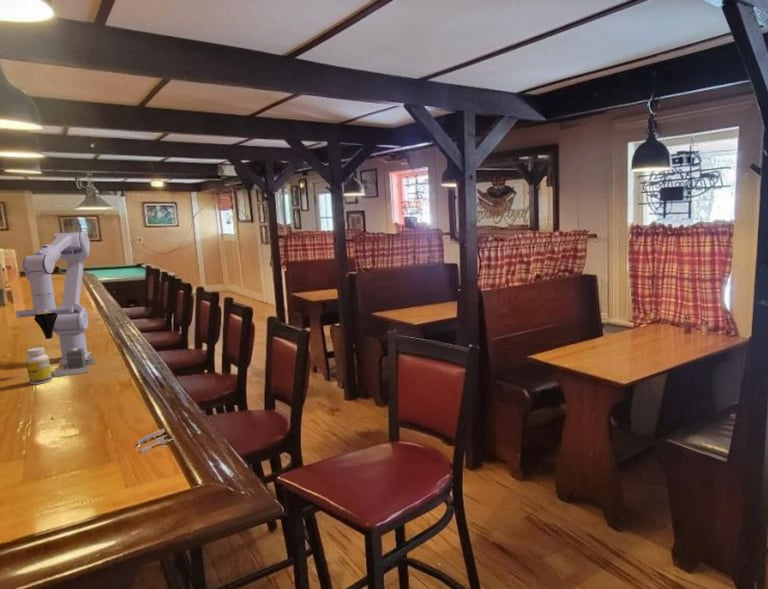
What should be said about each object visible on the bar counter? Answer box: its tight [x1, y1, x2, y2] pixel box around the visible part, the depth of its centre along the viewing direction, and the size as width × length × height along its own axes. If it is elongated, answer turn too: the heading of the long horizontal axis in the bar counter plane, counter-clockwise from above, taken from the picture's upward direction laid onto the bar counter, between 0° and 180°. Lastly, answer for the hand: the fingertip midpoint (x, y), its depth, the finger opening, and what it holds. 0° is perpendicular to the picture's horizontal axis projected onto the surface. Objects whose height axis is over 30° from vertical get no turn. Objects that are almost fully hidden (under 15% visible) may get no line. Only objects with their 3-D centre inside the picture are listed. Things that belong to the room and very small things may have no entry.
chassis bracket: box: [53, 357, 96, 378], centre depth 159 cm, size 13×9×2 cm
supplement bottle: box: [25, 346, 53, 385], centre depth 147 cm, size 5×5×10 cm
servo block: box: [66, 348, 87, 368], centre depth 159 cm, size 6×4×7 cm, turn 21°
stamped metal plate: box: [134, 427, 173, 455], centre depth 101 cm, size 8×7×2 cm
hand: (49, 338), depth 157 cm, fingers closed
